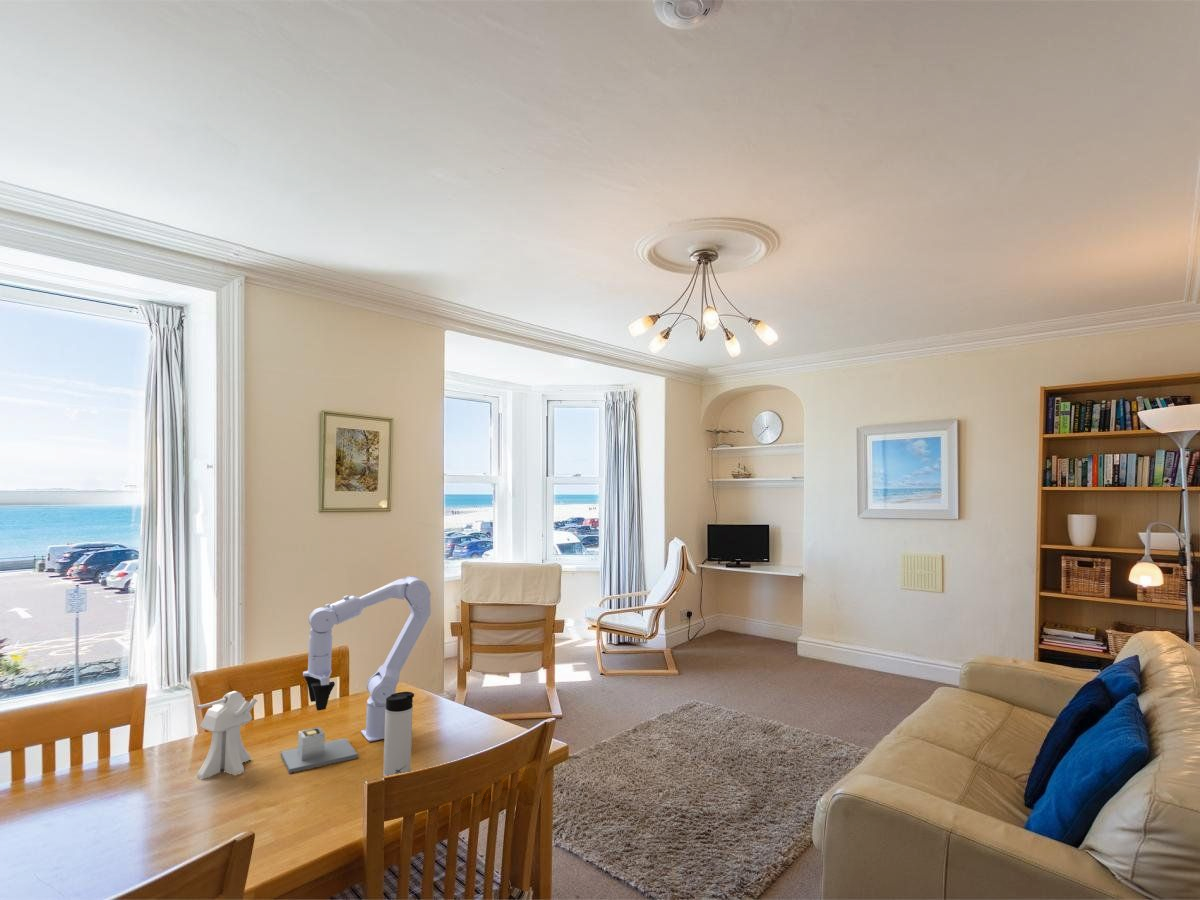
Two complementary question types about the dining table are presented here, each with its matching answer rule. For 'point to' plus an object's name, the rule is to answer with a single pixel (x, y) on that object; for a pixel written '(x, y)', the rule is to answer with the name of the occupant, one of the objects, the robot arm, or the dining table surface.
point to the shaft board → (332, 754)
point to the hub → (311, 744)
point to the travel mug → (398, 733)
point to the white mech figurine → (226, 734)
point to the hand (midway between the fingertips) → (318, 705)
